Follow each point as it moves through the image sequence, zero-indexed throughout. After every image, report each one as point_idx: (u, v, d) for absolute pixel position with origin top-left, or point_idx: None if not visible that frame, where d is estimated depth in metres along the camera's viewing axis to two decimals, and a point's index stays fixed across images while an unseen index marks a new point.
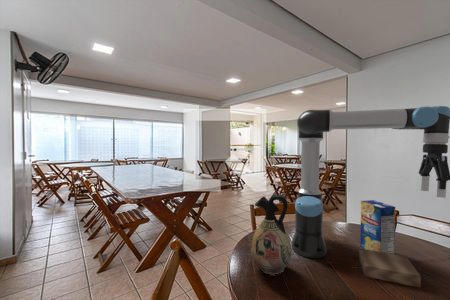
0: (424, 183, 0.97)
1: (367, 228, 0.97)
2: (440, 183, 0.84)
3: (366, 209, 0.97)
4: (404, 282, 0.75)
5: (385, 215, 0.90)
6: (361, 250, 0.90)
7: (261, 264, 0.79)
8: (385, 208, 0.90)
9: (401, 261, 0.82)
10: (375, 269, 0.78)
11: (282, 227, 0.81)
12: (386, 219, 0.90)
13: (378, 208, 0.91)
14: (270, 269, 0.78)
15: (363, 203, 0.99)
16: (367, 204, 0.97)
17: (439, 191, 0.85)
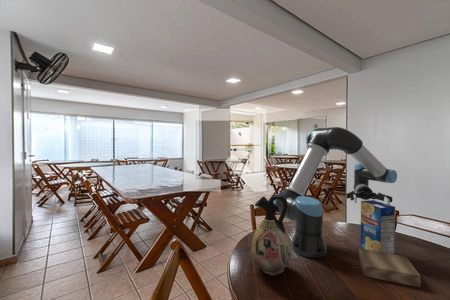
0: None
1: (367, 228, 0.97)
2: (387, 198, 1.08)
3: (366, 209, 0.97)
4: (404, 282, 0.75)
5: (385, 215, 0.90)
6: (361, 250, 0.90)
7: (261, 264, 0.79)
8: (385, 208, 0.90)
9: (401, 261, 0.82)
10: (375, 269, 0.78)
11: (282, 227, 0.81)
12: (386, 219, 0.90)
13: (378, 208, 0.91)
14: (270, 269, 0.78)
15: (363, 203, 0.99)
16: (367, 204, 0.97)
17: None
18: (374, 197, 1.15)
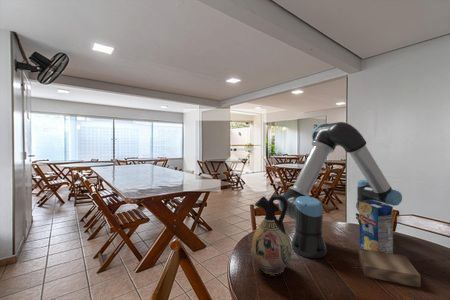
0: None
1: (365, 228, 0.97)
2: None
3: (364, 209, 0.97)
4: (404, 282, 0.75)
5: (383, 215, 0.90)
6: (361, 250, 0.90)
7: (261, 264, 0.79)
8: (382, 208, 0.90)
9: (401, 261, 0.82)
10: (375, 269, 0.78)
11: (282, 227, 0.81)
12: (383, 219, 0.90)
13: (375, 208, 0.91)
14: (270, 269, 0.78)
15: (361, 203, 0.99)
16: (365, 204, 0.97)
17: None
18: None
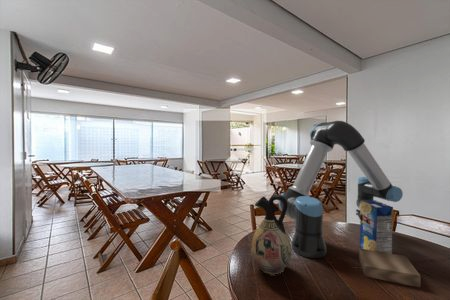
0: None
1: (365, 228, 0.98)
2: None
3: (365, 208, 0.98)
4: (404, 282, 0.75)
5: (382, 215, 0.90)
6: (361, 250, 0.90)
7: (261, 264, 0.79)
8: (381, 208, 0.90)
9: (401, 261, 0.82)
10: (375, 269, 0.78)
11: (282, 227, 0.81)
12: (382, 219, 0.90)
13: (374, 208, 0.92)
14: (270, 269, 0.78)
15: (362, 203, 1.00)
16: (365, 204, 0.97)
17: None
18: None
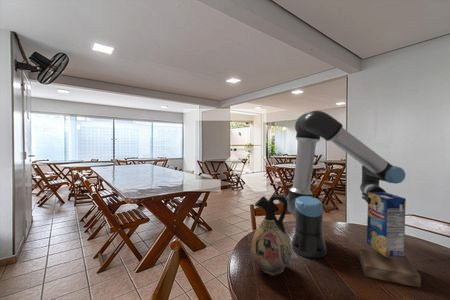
0: None
1: (373, 222, 0.87)
2: None
3: (373, 201, 0.87)
4: (404, 282, 0.75)
5: (393, 207, 0.80)
6: (361, 250, 0.90)
7: (261, 264, 0.79)
8: (392, 199, 0.80)
9: (401, 261, 0.82)
10: (375, 269, 0.78)
11: (282, 227, 0.81)
12: (393, 212, 0.80)
13: (384, 199, 0.81)
14: (270, 269, 0.78)
15: (370, 194, 0.89)
16: (374, 195, 0.87)
17: None
18: None
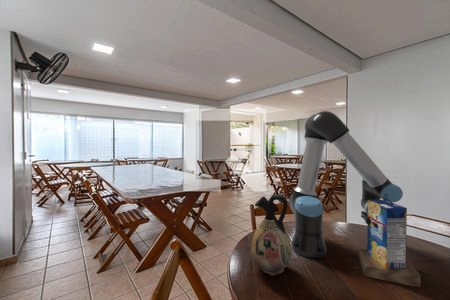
0: None
1: (373, 232, 0.84)
2: None
3: (373, 209, 0.84)
4: (404, 282, 0.75)
5: (393, 217, 0.76)
6: (361, 250, 0.90)
7: (261, 264, 0.79)
8: (393, 209, 0.76)
9: None
10: (375, 269, 0.78)
11: (282, 227, 0.81)
12: (394, 222, 0.77)
13: (384, 208, 0.78)
14: (270, 269, 0.78)
15: (370, 202, 0.86)
16: (374, 204, 0.83)
17: None
18: None
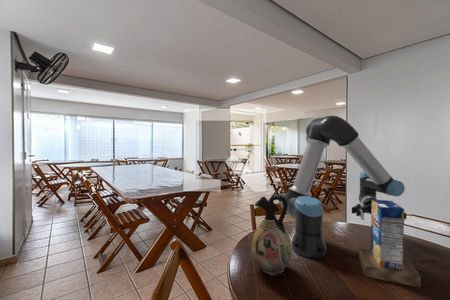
0: None
1: (374, 231, 0.85)
2: None
3: (374, 209, 0.85)
4: (404, 282, 0.75)
5: (388, 217, 0.77)
6: (361, 250, 0.90)
7: (261, 264, 0.79)
8: (388, 208, 0.77)
9: None
10: (375, 269, 0.78)
11: (282, 227, 0.81)
12: (389, 222, 0.77)
13: (379, 207, 0.79)
14: (270, 269, 0.78)
15: (372, 202, 0.86)
16: (374, 203, 0.84)
17: None
18: None
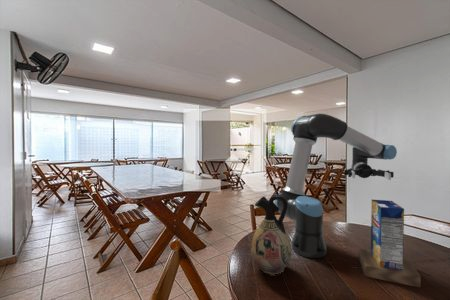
0: None
1: (374, 231, 0.85)
2: None
3: (374, 209, 0.85)
4: (404, 282, 0.75)
5: (388, 217, 0.77)
6: (361, 250, 0.90)
7: (261, 264, 0.79)
8: (387, 208, 0.77)
9: None
10: (375, 269, 0.78)
11: (282, 227, 0.81)
12: (389, 222, 0.77)
13: (379, 207, 0.79)
14: (270, 269, 0.78)
15: (372, 202, 0.86)
16: (374, 203, 0.84)
17: None
18: (374, 173, 1.07)
